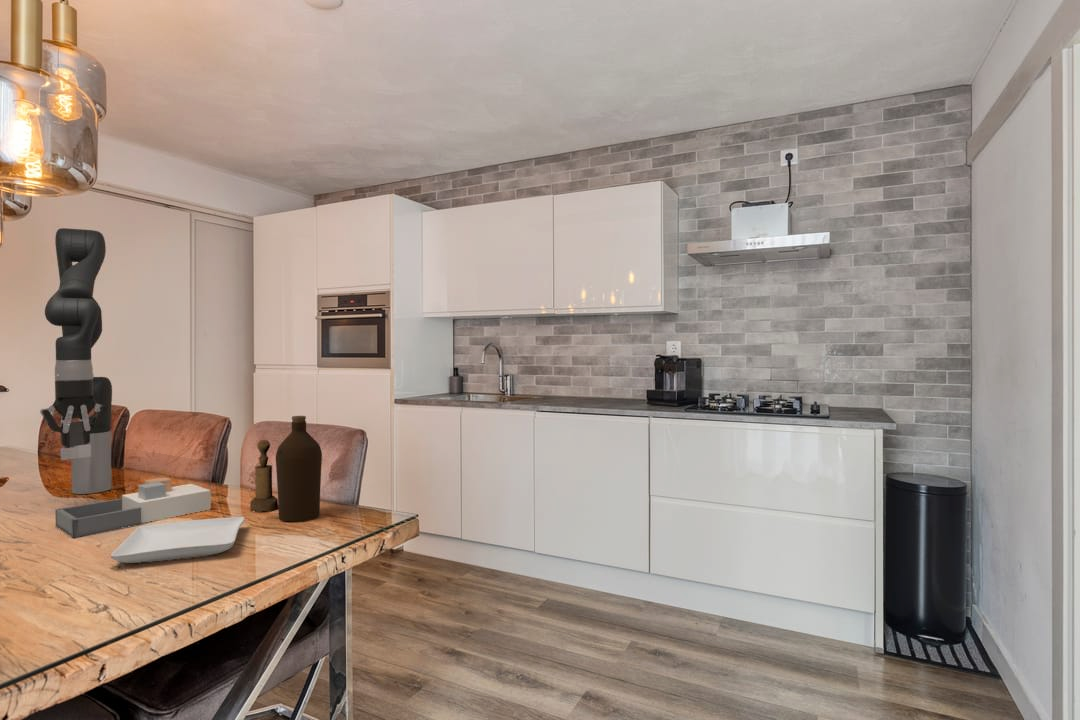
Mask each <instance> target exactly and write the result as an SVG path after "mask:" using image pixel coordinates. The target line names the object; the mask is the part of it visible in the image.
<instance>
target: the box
mask: <svg viewBox="0 0 1080 720" xmlns="http://www.w3.org/2000/svg"><path fill="white" fill-rule="evenodd" d="M140 524H141V508H140V507H138V508H132V509H126V510H122V497H121V498H116V499H109V500H103V501H97V502H91V503H85V504H78V505H75V506H74V505H73V506H68V507H62V508H55V527H56V526H57V527H58V528H57V527H56V528H57V529H59V528H60V529H61V530H60V529H59V530H60V531H62V530H63V531H64V533H65V532H66V533H67V534H66V533H65V534H66V535H68V536H69V535H70V536H71V537H70V536H69V537H70V538H71V539H77V538H76V537H78V538H82V537H87V536H92V535H96V533H97V534H102V533H105V532H104V531H107V532H110V531H109V530H112V531H115V530H114V529H117V530H119V529H118V528H122V527H127V528H129V527H128V526H132V527H135V526H134V525H137V526H141V525H142V524H141V525H140ZM122 529H123V528H122ZM63 531H62V532H63ZM101 532H102V533H101ZM91 534H92V535H91ZM81 536H82V537H81Z"/></svg>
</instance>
